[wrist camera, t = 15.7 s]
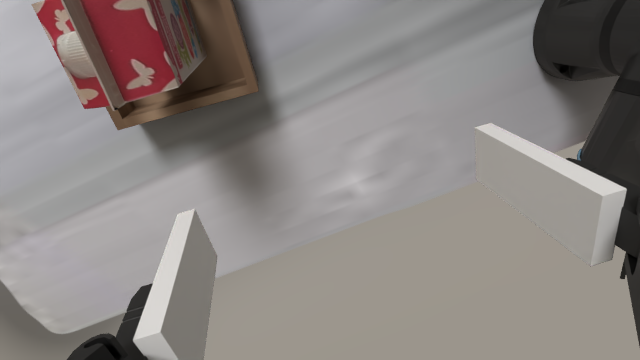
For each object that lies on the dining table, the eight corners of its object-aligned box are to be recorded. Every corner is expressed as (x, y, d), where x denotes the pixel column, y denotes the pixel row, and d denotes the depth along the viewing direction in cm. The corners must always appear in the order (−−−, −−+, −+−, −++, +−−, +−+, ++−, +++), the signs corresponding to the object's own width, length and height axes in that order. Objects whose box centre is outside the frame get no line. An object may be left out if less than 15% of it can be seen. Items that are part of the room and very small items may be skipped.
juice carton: (151, 68, 41) (61, 122, 22) (126, 5, 38) (-4, 4, 19) (207, 56, 42) (168, 98, 22) (187, -7, 39) (122, -21, 19)
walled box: (211, -68, 37) (204, -80, 32) (257, 81, 45) (258, 91, 40) (61, -30, 37) (29, -36, 31) (133, 115, 44) (117, 130, 39)
